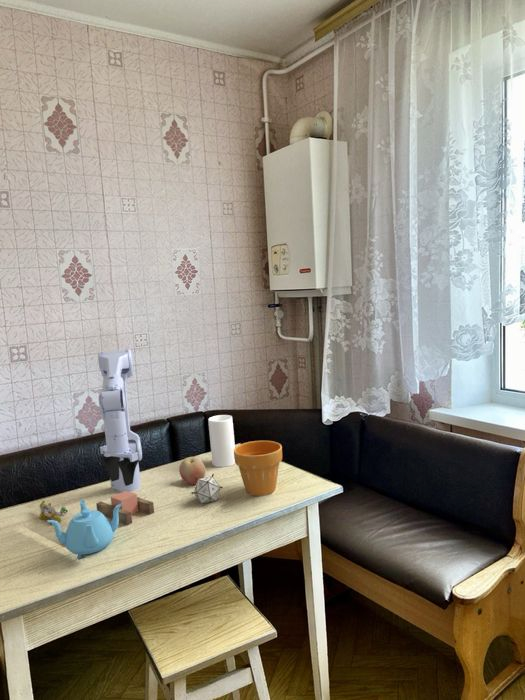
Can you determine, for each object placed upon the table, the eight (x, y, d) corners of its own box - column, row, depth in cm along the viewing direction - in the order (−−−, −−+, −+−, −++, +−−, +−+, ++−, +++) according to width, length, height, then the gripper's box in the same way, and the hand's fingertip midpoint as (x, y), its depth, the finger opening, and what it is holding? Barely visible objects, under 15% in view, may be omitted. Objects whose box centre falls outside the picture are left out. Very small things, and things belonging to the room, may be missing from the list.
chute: (97, 517, 149) (96, 503, 149) (124, 505, 156) (122, 492, 155) (128, 529, 140) (126, 514, 140) (154, 516, 147) (153, 502, 146)
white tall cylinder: (209, 467, 182) (205, 421, 180) (215, 459, 190) (211, 415, 188) (233, 466, 181) (229, 420, 179) (238, 458, 189) (234, 414, 187)
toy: (58, 500, 159) (72, 513, 146) (48, 517, 157) (62, 531, 145) (42, 494, 156) (55, 506, 144) (32, 511, 154) (45, 525, 142)
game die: (213, 517, 151) (216, 498, 145) (186, 507, 153) (187, 488, 146) (225, 492, 158) (228, 472, 151) (198, 482, 159) (200, 462, 152)
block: (112, 514, 148) (110, 496, 147) (127, 507, 151) (125, 490, 151) (123, 518, 144) (121, 500, 144) (138, 511, 148) (136, 494, 147)
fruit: (182, 489, 165) (179, 464, 164) (179, 480, 172) (177, 456, 171) (207, 484, 166) (205, 460, 165) (204, 476, 174) (202, 452, 173)
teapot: (93, 567, 122) (88, 525, 121) (49, 559, 127) (43, 519, 126) (128, 540, 134) (123, 501, 133) (86, 534, 139) (81, 497, 138)
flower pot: (283, 479, 166) (280, 438, 165) (286, 497, 152) (283, 453, 150) (237, 483, 166) (234, 442, 164) (237, 501, 152) (233, 457, 150)
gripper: (88, 434, 147) (94, 482, 148) (119, 441, 137) (125, 492, 139) (110, 428, 152) (116, 474, 154) (141, 434, 142) (147, 483, 144)
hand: (122, 482), depth 147 cm, fingers open, 6 cm apart
